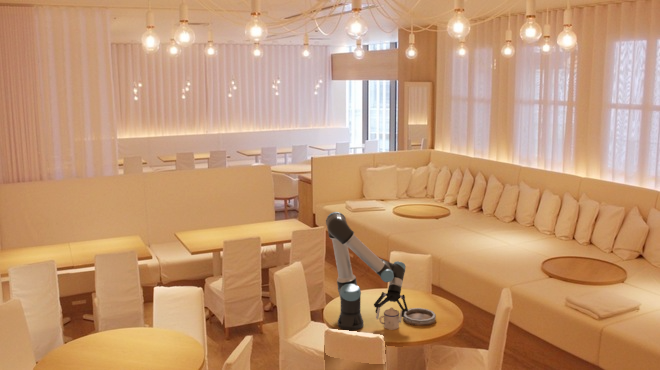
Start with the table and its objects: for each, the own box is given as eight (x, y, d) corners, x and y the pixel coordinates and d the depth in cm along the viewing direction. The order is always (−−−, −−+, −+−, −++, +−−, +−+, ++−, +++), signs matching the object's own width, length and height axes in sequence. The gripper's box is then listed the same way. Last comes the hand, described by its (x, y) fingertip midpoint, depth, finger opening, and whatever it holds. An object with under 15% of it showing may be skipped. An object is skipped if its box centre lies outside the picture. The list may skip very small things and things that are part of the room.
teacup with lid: (395, 322, 378) (395, 304, 376) (401, 328, 370) (402, 310, 367) (376, 325, 375) (376, 306, 373) (382, 331, 366) (382, 312, 364)
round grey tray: (399, 323, 378) (399, 318, 377) (407, 311, 395) (407, 306, 395) (431, 327, 371) (432, 322, 370) (438, 315, 389) (438, 310, 388)
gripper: (416, 292, 379) (410, 325, 368) (376, 286, 387) (368, 319, 376) (414, 286, 373) (408, 320, 362) (373, 281, 381) (366, 314, 371)
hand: (388, 320), depth 369 cm, fingers open, 13 cm apart
